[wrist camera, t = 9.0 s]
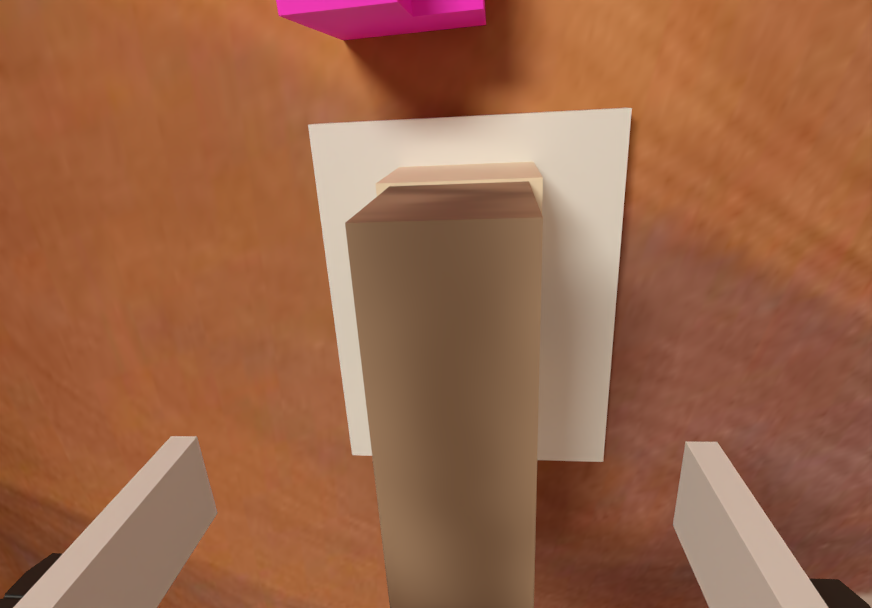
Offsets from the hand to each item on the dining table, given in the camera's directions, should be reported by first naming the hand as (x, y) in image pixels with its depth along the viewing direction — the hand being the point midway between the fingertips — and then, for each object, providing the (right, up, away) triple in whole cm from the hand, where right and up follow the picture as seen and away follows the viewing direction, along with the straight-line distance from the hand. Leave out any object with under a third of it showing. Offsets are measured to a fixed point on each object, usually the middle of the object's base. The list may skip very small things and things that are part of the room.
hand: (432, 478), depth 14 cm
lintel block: (+1, +3, +7) cm, 8 cm away
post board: (+2, +5, +12) cm, 14 cm away
